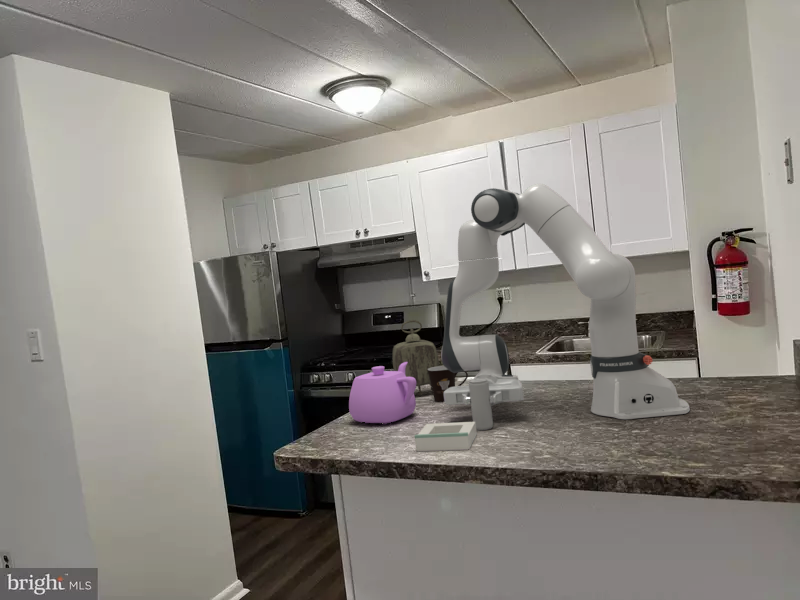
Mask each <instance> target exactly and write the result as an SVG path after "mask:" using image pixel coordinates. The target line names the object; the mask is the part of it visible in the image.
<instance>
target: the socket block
mask: <svg viewBox="0 0 800 600" xmlns="http://www.w3.org/2000/svg"><path fill="white" fill-rule="evenodd" d="M477 434H478V433H477V430H476V423H475V422H473V421H462V422H440V423H426V424H425V425H424V426H423V427H422V428H421V430H420V431H419V432H418V434H415V435H414V443H415V451H416V452H437V451H438V452H439V451H442V452H443V451H469V450H470V449H471V447H472V445H473V442H474V441H475V438H476V436H477ZM468 449H469V450H468Z"/></svg>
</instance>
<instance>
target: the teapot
mask: <svg viewBox="0 0 800 600" xmlns="http://www.w3.org/2000/svg"><path fill="white" fill-rule="evenodd" d="M407 363H408V362H404V363H402V364H401V365H400V366H399V369H398V371H394V370H385V366H383V365H379V366H373V367H371V372H368V373H364V374H361V375H358V376H355V378H354V379H353V382H352V386H351V389H350V393H349V398H348V399H349V400H348V409H349V410H348V411H349V415H350V416H351V417H352V419H353V420H354V421H355V422H359V423H362V422H365V423H364V424H369V423H370V424H381V423H383V424H382V425H388V424H387V423H390V424H392V423H393V422H396V421H400V420H402V419H404V418H407V417H409V416H411V415H412V414H413V413H414V411H415V409H416V406H417V405H416V403H417V402H416V397H415V391H416V389H417V386H416V379H415V378H414V377H406V375H405V368H406V365H407ZM391 422H392V423H391Z"/></svg>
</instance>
